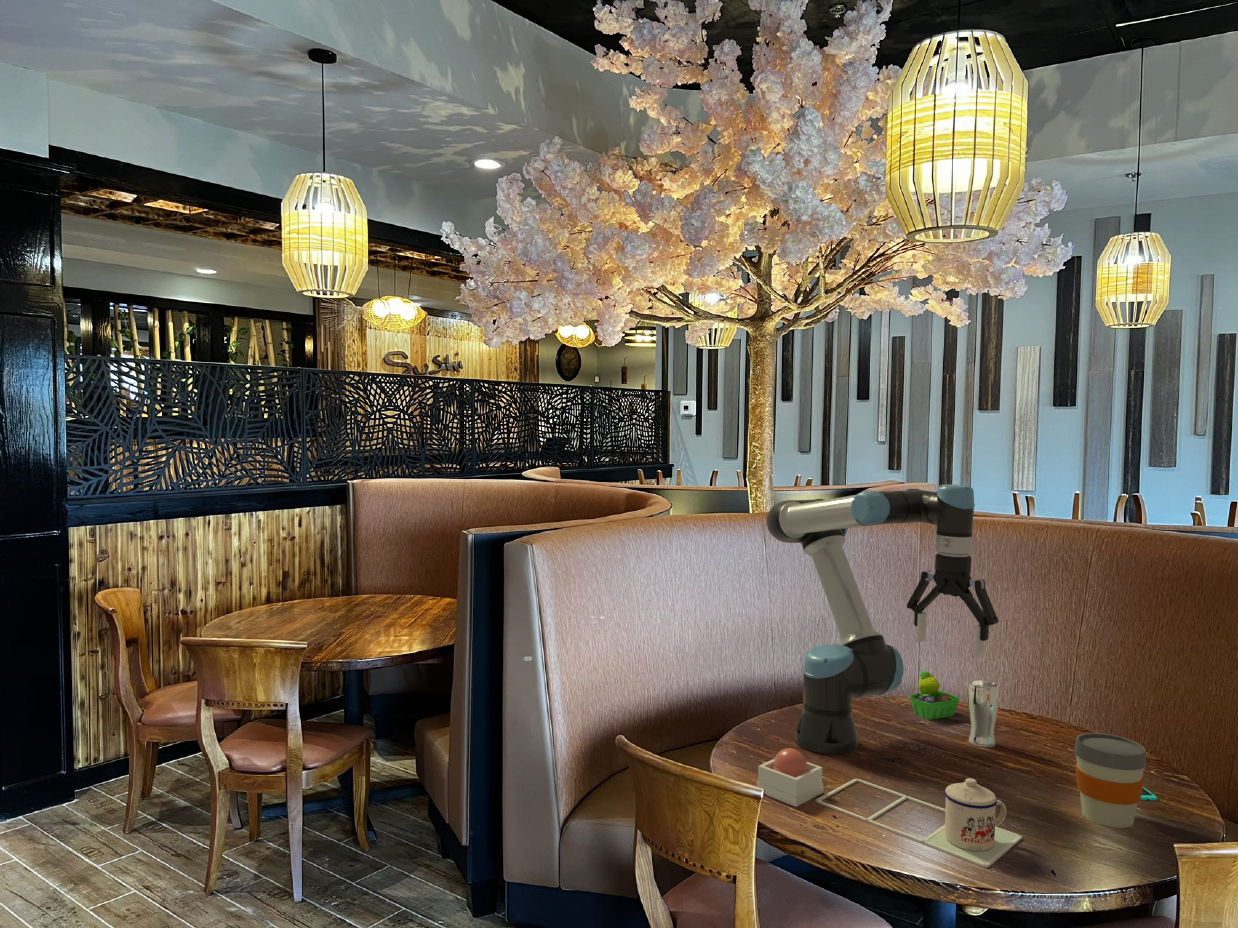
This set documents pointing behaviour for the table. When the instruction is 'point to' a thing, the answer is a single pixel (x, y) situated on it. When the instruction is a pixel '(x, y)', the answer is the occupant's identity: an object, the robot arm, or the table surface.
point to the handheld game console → (1147, 795)
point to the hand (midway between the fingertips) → (949, 647)
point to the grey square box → (790, 784)
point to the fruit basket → (932, 699)
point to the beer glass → (982, 712)
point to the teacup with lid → (971, 815)
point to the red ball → (790, 762)
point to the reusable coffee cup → (1109, 777)
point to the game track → (937, 838)
